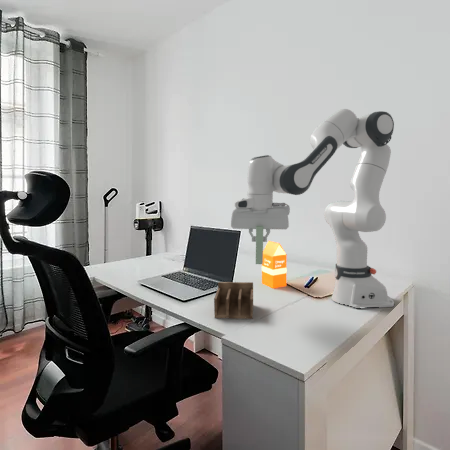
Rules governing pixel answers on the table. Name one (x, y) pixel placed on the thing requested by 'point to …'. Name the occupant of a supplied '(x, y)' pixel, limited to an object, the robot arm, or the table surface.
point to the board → (259, 244)
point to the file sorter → (234, 300)
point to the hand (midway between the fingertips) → (259, 241)
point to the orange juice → (274, 265)
